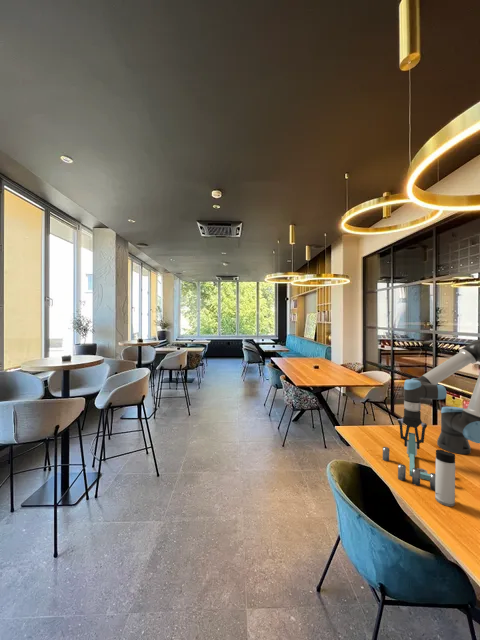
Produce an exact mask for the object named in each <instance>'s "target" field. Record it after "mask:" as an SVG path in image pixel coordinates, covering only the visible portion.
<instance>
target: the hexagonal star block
mask: <svg viewBox="0 0 480 640" xmlns="http://www.w3.org/2000/svg"><path fill="white" fill-rule="evenodd" d="M417 469H419V470H420V472H423V473H427V474H428V470H426V469H424V468H421V467H420V468H419V467H417Z"/></svg>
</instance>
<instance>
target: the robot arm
mask: <svg viewBox="0 0 480 640" xmlns="http://www.w3.org/2000/svg"><path fill="white" fill-rule="evenodd" d="M458 351H459V352H458V353H456V354H454V355H453V356H450V358H447V360H445V361H443V362H442V363H441V364H438V365H436V367H434V368H432V369H430V370H429V371H427V372H426V373H424V374H423V375H421V376H419V377H416V378H415V377H413V378H412V377H411V379H405V380H404V384H403V390H404V391H403V392H404V393H403V395H404V397H403V404H404V405H403V408H404V409H403V417H402V418H398V419H397V422H398V424H399V434H400V439H402V440H403V441H404V442H403V443H404V444H403V445H404V447H406V454H407V455H408V452H409V432H410V428H413V429H414V433H415V457H416V456H418V450H420V449H421V447H420V444H424V443H425V435H426V434H425V433H426V429H427V427H428V424H427V423H425V422H423V421H422V418H421V413H422V412H421V408H422V407H421V406H422V405H421V404H422V403H421V402H422V401H421V400H423V399H424V400H437V401H438V400H445V399H446V398H447V396H448V395H447V390H446V387H445V386H444V385H442V384H439V383H440V382H442V381H444V380H446V379H447V378H449V377H451V376H452V375H453V374H455V373H457V372H458V371H460V370H462V369H464V368H465V367H467V366H468V365H470V364H476V363H478V362H480V339H477V340H475V341H473V342H470V343H468V344H467V345H464V347H462V348H461V349H460V348H459V350H458ZM440 421H441V422H440V434H439V435H438V438H437V441H436V444H437V446H438V447H439V448H440V449H441V450H444V451H446V452H451V453H453V454H458V455H459V454H460V455H469V454H471V452H472V449H471V444H470V442H469V441H471V442H473V443H475V444H480V373H479V375H478V377H477V380H476V382H475V386H474V388H473V391H472V394H471V397H470V400H469V403H468V405H467V408H464V407H459V406H458V407H456V406H442V407H441V411H440ZM403 424H405V425H406V427H405V428H406V429H405V433H404V431H403ZM420 425H421V433H420V435H421V436H419V431H418V427H419V426H420Z"/></svg>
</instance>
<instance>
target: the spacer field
mask: <svg viewBox="0 0 480 640" xmlns="http://www.w3.org/2000/svg"><path fill="white" fill-rule="evenodd" d="M382 461H384V462H389V461H390V447H387V446H383V447H382ZM406 468H407V467H406V465H404V464H402V463H399V464H397V479H398V480H399V481H402V482H406V479H407V477H406V475H407V473H406V472H407V469H406ZM417 468H418V467H417ZM417 468H416V467H415V468H412V476H411V483H412V484H413V485H415V486H417V487H418V486H420V485H421V478H420V470H419V469H417ZM429 474H430V481H429V489H430V490H432V491H433V492H435V474H436V472H435V473H434V472H430V473H429Z"/></svg>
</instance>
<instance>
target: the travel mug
mask: <svg viewBox="0 0 480 640" xmlns="http://www.w3.org/2000/svg"><path fill="white" fill-rule="evenodd" d="M434 492H435V493H434V497H435V501H436V502H438V503H439V504H441V505H442V506H445V507H454V506H455V505H456V453H453V452H449V451H446V450H444V449H436V450H435V491H434Z"/></svg>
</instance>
